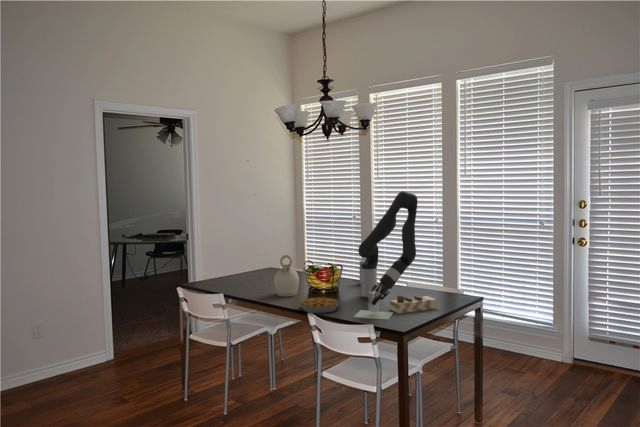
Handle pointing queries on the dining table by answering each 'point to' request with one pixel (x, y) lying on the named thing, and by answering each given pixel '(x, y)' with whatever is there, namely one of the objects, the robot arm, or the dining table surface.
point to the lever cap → (370, 298)
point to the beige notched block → (412, 304)
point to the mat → (373, 315)
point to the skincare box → (361, 270)
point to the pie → (319, 305)
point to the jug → (286, 280)
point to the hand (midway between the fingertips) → (370, 302)
